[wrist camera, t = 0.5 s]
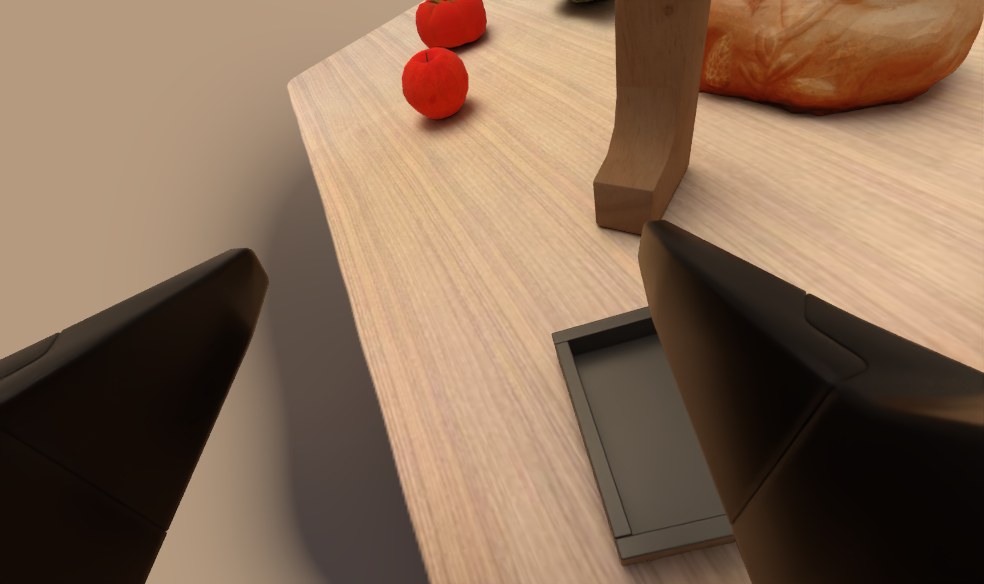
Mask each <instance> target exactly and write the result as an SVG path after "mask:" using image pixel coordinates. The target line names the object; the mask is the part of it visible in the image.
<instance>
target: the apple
mask: <svg viewBox="0 0 984 584" xmlns="http://www.w3.org/2000/svg"><path fill="white" fill-rule="evenodd" d="M402 87H403V94H404V96H405V98H406V100H407V101H408V103H409V104H410V105H411V106H412V107H414V108H415V109H416V110H417V111H418V112H420V113H421V114H423V115H425V116H426V117H429V118H432V119H442V118H445V117H448V116H451V115H453V114H454V113H456V112H457V111H458V110H459V109H460V108H461V106H462V104H463V103H464V101H465V98H466V95H467V91H468V73H467V71H466V69H465V66H464V64H463V62H462V60H461V59H460V58H459V57H458V56H457V55H456V54H455V53H453V52H452V51H450V50H448V49H445V48H441V47H433V48H430V49H427V50H424V51H421V52H419V53H417V54H416V55H414V56H413V57H412V58H411V59H410V61H409V62H408V63H407V64H406V66H405V67H404V71H403V75H402Z"/></svg>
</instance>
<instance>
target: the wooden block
mask: <svg viewBox="0 0 984 584" xmlns="http://www.w3.org/2000/svg"><path fill="white" fill-rule="evenodd" d="M710 5H711V0H615V36H616V87H617V100H616V112H615V125H614V130H613V134H612V138H611V142H610V146H609V150H608V154H607V156H606V158H605V160H604V162H603V164H602V166H601V168H600V170H599V172H598V173H597V175H596V177H595V179H594V182H593V186H594V199H595V212H596V223H597V224H598V225H600V226H604V227H608V228H613V229H617V230H622V231H626V232H631V233H636V234H640V235H642V230H643V226H644V224H645V223H646V222H647V221H655V220H660V218H661V216H662V214H663V213H664V211H665V209H666V207H667V205H668V203H669V201H670V199H671V197H672V195H673V193H674V192H675V190H676V188H677V186H678V184H679V182H680V180H681V178H682V176H683V174H684V172H685V170H686V169H687V167H688V165H689V158H690V151H691V144H692V137H693V130H694V123H695V116H696V108H697V101H698V93H699V86H700V78H701V71H702V64H703V56H704V49H705V42H706V34H707V27H708V20H709V12H710Z"/></svg>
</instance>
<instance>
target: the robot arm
mask: <svg viewBox="0 0 984 584" xmlns="http://www.w3.org/2000/svg"><path fill="white" fill-rule="evenodd" d="M638 261H639V266H640V271H641V275H642V279H643V283H644V288H645V292H646V296H647V301H648V305H649V309H650V313H651V317H652V320H653V323H654V326H655V329H656V331H657V334H658V337H659V339H660V342H661V345H662V347H663V350H664V353H665V355H666V358H667V360H668V363H669V366H670V368H671V371H672V374H673V376H674V379H675V381H676V384H677V387H678V389H679V392H680V395H681V397H682V400H683V403H684V405H685V408H686V410H687V413H688V416H689V418H690V421H691V424H692V426H693V429H694V431H695V434H696V437H697V439H698V442H699V445H700V447H701V450H702V453H703V455H704V458H705V460H706V463H707V466H708V468H709V471H710V474H711V476H712V479H713V481H714V484H715V487H716V489H717V492H718V495H719V497H720V500H721V503H722V505H723V508H724V510H725V513H726V516H727V518H728V521H729V523H730V525H732V526H731V530H732V532H733V535H734V537H735V540H736V543H737V545H738V548H739V551H740V553H741V556H742V559H743V561H744V564H745V566H746V569H747V572H748V574H749V577H750V580H751V582H752V584H984V373H983V372H981V371H978V370H976V369H974V368H972V367H969V366H967V365H965V364H962V363H960V362H958V361H956V360H953V359H951V358H949V357H946V356H944V355H942V354H940V353H937V352H935V351H933V350H930V349H928V348H926V347H923V346H921V345H919V344H917V343H914V342H912V341H910V340H907V339H905V338H903V337H901V336H898V335H896V334H894V333H892V332H889V331H887V330H885V329H883V328H880V327H878V326H876V325H874V324H872V323H869V322H867V321H865V320H863V319H860V318H858V317H856V316H854V315H852V314H850V313H848V312H846V311H844V310H842V309H840V308H838V307H836V306H834V305H832V304H830V303H828V302H826V301H824V300H822V299H820V298H818V297H816V296H814V295H812V294H807V295H806V291H804V290H802V289H800V288H798V287H796V286H794V285H792V284H790V283H788V282H786V281H784V280H782V279H780V278H778V277H776V276H774V275H772V274H770V273H768V272H766V271H764V270H762V269H761V268H759V267H757V266H755V265H753V264H751V263H749V262H747V261H745V260H743V259H741V258H739V257H737V256H735V255H733V254H731V253H729V252H727V251H725V250H723V249H721V248H719V247H717V246H715V245H713V244H711V243H709V242H707V241H705V240H703V239H701V238H699V237H697V236H695V235H693V234H691V233H690V232H688V231H686V230H684V229H682V228H680V227H678V226H676V225H674V224H672V223H670V222H668V221H666V220H655V221H647V222H646V223H645V224H644V226H643V230H642V235H641V241H640V247H639V253H638ZM268 285H269V280H268V276H267V274H266V272H265V270H264V268H263V267H262V265H261V263H260V262H259V260H258V258H257V256H256V254H255V253H254V252H253V251H252V250H251V249H249V248H238V249H230V250H228V251H226V252H224V253H222V254H220V255H218V256H216V257H213V258H211V259H209V260H207V261H205V262H203V263H201V264H199V265H197V266H195V267H193V268H191V269H189V270H187V271H184V272H182V273H180V274H178V275H176V276H174V277H172V278H170V279H168V280H166V281H164V282H162V283H160V284H157V285H155V286H153V287H151V288H149V289H147V290H145V291H143V292H141V293H139V294H137V295H135V296H133V297H130V298H128V299H126V300H125V301H122V302H120V303H118V304H116V305H114V306H112V307H110V308H108V309H106V310H104V311H101V312H100V313H97V314H95V315H93V316H91V317H89V318H87V319H85V320H83V321H81V322H79V323H77V324H74V325H72V326H70V327H69V328H66V329H64V330H63V331H62V332H61V333H56V334H54V335H52V336H49V337H47V338H45V339H43V340H41V341H39V342H37V343H35V344H33V345H31V346H29V347H26V348H24V349H22V350H20V351H18V352H16V353H14V354H12V355H9V356H7V357H5V358H3V359H1V360H0V584H145V582H146V580H147V578H148V575H149V573H150V571H151V568H152V566H153V564H154V562H155V559H156V557H157V555H158V552H159V550H160V548H161V546H162V543H163V541H164V539H165V537H166V534H167V533H166V532H165V531H167V530H168V529H169V526H170V524H171V522H172V520H173V517H174V515H175V513H176V510H177V508H178V506H179V504H180V501H181V499H182V497H183V495H184V492H185V490H186V488H187V486H188V483H189V481H190V479H191V476H192V474H193V472H194V469H195V467H196V465H197V463H198V461H199V458H200V456H201V454H202V451H203V449H204V447H205V445H206V442H207V440H208V438H209V436H210V433H211V431H212V429H213V426H214V424H215V422H216V419H217V417H218V415H219V413H220V410H221V408H222V406H223V403H224V401H225V399H226V397H227V394H228V392H229V390H230V388H231V385H232V383H233V381H234V379H235V376H236V374H237V372H238V369H239V367H240V365H241V363H242V360H243V358H244V356H245V354H246V351H247V349H248V347H249V344H250V342H251V339H252V337H253V334H254V331H255V328H256V324H257V321H258V318H259V315H260V312H261V308H262V305H263V302H264V299H265V295H266V292H267V289H268Z"/></svg>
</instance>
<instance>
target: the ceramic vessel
mask: <svg viewBox="0 0 984 584" xmlns="http://www.w3.org/2000/svg"><path fill="white" fill-rule="evenodd" d="M983 15H984V0H711V5H710V12H709V20H708V27H707V34H706V42H705V49H704V56H703V64H702V71H701V78H700V86H699V91H703V92H709V93H713V94H717V95H723V96H729V97H735V98H741V99H746V100H750V101H754V102H758V103H763V104H767V105H771V106H775V107H779V108H781V109H784V110H786V111H789V112H791V113H807V114H813V115H819V116H822V115H827V114H832V113H839V112H845V111H852V110H858V109H863V108H868V107H874V106H880V105H887V104H897V103H903V102H907V101H910V100H913V99H914V98H916V97H918V96H919V95H921V94H923V93H925V92H927V91H928V90H929V88H930V87H931V86H932V85H933V84H934V83H936V82H938V81H939V80H941V79H943V78H944V77H946V76H948V75H949V74H951V73H952V72H954V71H955V70H956V69H957V68H958V67H959V66H960V65H961V64H962V63H963V61H964V60H965V58H966V57H967V55H968V53H969V51H970V49H971V47H972V44H973V42H974V40H975V39H976V37H977V35H978V33H979V30H980V27H981V24H982V21H983Z"/></svg>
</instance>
